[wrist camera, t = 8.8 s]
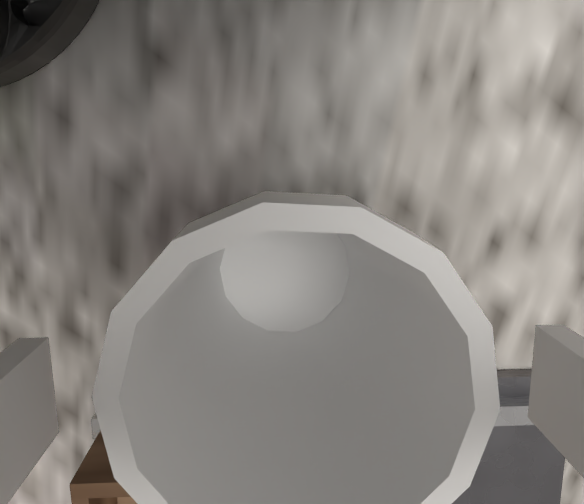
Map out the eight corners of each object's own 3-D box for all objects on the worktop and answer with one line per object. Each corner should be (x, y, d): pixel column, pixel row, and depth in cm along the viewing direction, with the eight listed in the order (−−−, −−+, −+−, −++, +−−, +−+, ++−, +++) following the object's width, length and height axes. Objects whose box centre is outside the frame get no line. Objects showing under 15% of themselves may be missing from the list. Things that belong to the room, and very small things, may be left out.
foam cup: (232, 388, 26) (196, 625, 14) (149, 216, 24) (16, 305, 12) (412, 315, 26) (549, 489, 13) (342, 134, 24) (425, 133, 11)
